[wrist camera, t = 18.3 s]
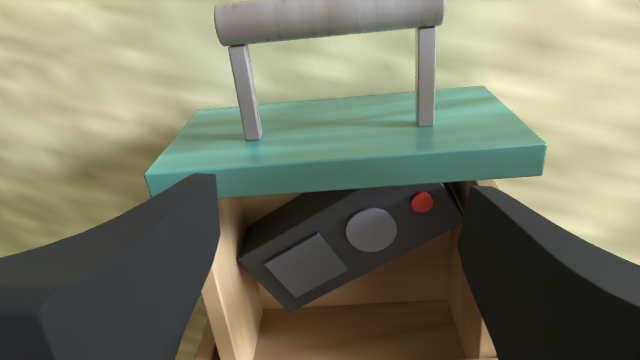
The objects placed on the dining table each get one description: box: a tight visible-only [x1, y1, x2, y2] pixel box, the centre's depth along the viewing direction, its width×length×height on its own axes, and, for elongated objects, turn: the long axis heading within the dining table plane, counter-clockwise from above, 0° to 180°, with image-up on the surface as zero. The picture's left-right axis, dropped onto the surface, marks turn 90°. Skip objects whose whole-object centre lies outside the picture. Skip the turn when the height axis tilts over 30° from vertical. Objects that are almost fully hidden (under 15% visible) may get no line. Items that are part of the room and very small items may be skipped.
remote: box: [238, 182, 464, 313], centre depth 21 cm, size 4×10×3 cm, turn 125°
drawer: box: [144, 0, 547, 360], centre depth 19 cm, size 17×13×7 cm
